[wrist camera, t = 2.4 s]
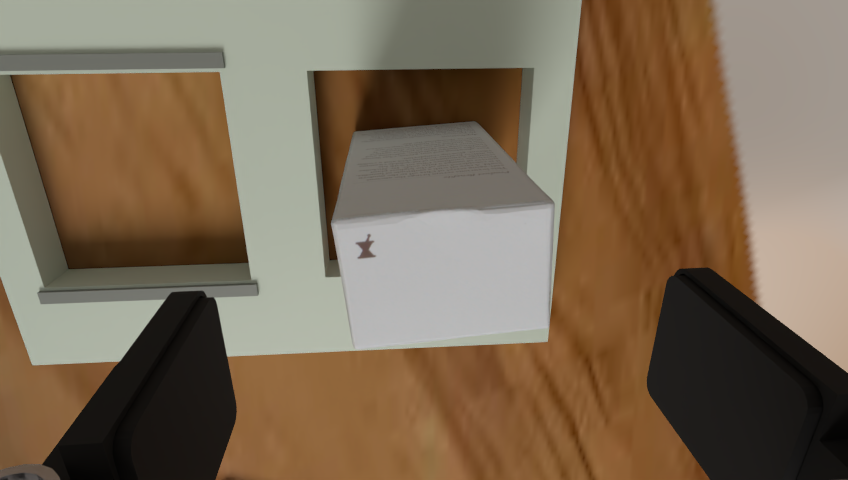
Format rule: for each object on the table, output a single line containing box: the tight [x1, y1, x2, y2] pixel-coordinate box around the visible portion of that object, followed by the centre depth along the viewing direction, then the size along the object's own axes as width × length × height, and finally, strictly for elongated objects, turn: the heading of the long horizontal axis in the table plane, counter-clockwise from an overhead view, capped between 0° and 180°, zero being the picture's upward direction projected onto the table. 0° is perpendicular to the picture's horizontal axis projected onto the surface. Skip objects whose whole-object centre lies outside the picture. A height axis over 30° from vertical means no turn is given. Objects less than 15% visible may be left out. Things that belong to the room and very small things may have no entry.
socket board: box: [0, 0, 582, 365], centre depth 24 cm, size 26×18×2 cm
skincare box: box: [331, 121, 555, 350], centre depth 20 cm, size 6×4×12 cm
